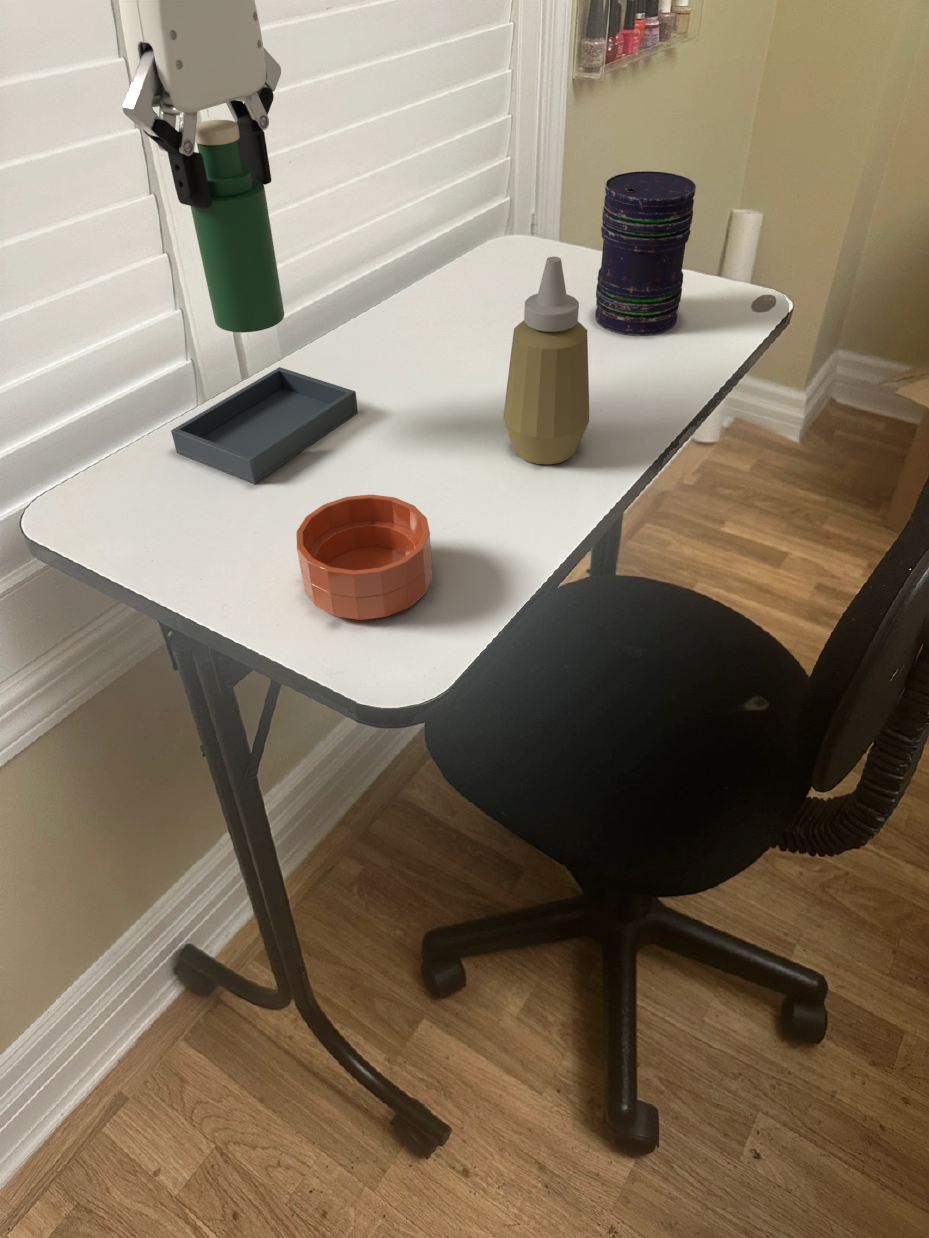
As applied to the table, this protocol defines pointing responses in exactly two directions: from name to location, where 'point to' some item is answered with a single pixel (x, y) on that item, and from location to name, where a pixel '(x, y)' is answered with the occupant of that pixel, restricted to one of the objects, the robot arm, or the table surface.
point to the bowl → (365, 556)
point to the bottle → (235, 236)
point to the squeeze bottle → (548, 374)
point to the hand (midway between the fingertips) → (226, 191)
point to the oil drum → (643, 251)
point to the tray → (265, 424)
